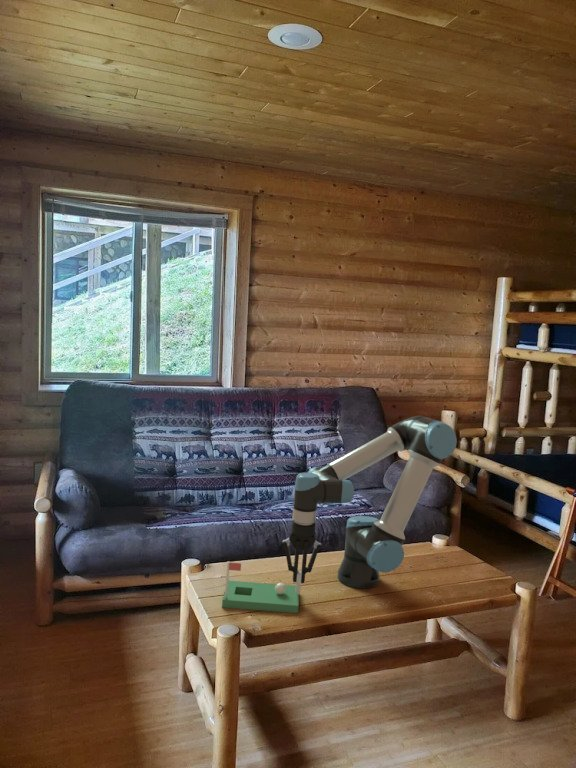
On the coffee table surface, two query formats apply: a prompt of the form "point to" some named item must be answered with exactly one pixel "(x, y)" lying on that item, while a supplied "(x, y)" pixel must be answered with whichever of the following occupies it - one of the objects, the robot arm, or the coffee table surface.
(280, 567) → the coffee table surface
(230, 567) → the pin
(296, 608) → the green
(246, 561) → the coffee table surface
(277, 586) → the ball
